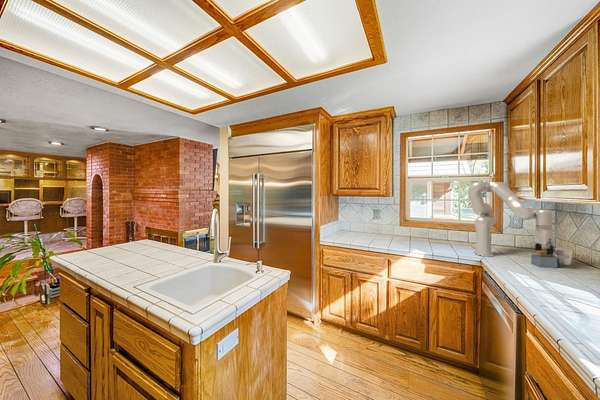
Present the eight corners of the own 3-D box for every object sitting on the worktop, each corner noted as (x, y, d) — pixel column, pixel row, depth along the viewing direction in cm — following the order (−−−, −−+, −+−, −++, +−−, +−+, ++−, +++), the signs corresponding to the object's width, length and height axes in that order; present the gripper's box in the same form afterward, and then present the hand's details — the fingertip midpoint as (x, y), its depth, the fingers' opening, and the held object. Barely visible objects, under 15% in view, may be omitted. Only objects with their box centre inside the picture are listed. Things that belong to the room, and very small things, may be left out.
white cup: (561, 264, 154) (561, 250, 153) (551, 261, 161) (551, 247, 161) (576, 265, 152) (576, 250, 152) (565, 261, 160) (565, 248, 159)
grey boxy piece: (530, 263, 158) (530, 248, 158) (561, 264, 154) (561, 248, 154) (540, 267, 150) (540, 251, 149) (574, 269, 145) (574, 252, 145)
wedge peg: (537, 264, 155) (537, 250, 155) (546, 265, 154) (546, 250, 154) (540, 266, 152) (540, 251, 152) (549, 266, 151) (550, 252, 151)
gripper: (527, 225, 161) (527, 249, 162) (547, 229, 145) (547, 255, 145) (540, 225, 160) (540, 249, 160) (562, 229, 143) (562, 256, 143)
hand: (543, 252), depth 153 cm, fingers open, 9 cm apart
